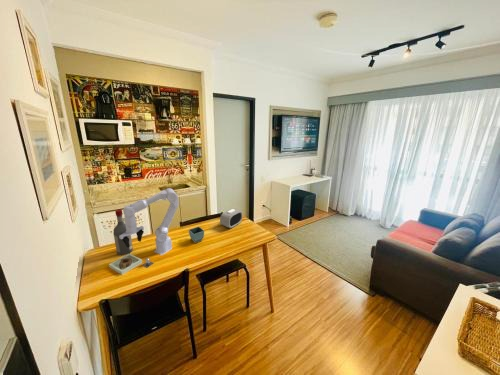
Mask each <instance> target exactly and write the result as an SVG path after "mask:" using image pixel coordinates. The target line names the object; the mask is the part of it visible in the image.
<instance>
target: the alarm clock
mask: <svg viewBox="0 0 500 375" xmlns="http://www.w3.org/2000/svg"><path fill="white" fill-rule="evenodd" d="M243 214H244V213H243V211H242V210H239V209H235V208H230V209H229V210H226V211H224V212H223V213H221V215H220V217H219V223H220V225H221V226H224V227H226V228H229V229H232V228H234V227H236V226H238V225H239V224H240V223H241V222H242V220H243Z"/></svg>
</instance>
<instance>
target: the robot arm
mask: <svg viewBox="0 0 500 375" xmlns="http://www.w3.org/2000/svg"><path fill="white" fill-rule="evenodd" d="M160 200H162V201H168V202H169V205H168V208H167V211H166V212H165V215H164V217H163V219H162V221H161V223H160V225H159V226H158V228H156V229H155V231H154V235H155V247H156V249H155V250H153V252H154V253H155V254H158V255H160V256H163V255H165V254H166V253H168V252H169V251H171V250H172V249H173V246H172V245H173V244H172V239H171V237H170V236H169V235H168V233H169V227H170V225H171V223H172V221H173V219H174V216H175V214H176V212H177V209H178V208H179V205H180V201H179V195H178V194H177V193H176V192H175V190H174V189H173V188H171V187H168V188H166V189H162V190H161V191H160V192H158V193H156V194H154V195H152V196H150V197H148V198H146V199H138V200H137V201H135V202H134V203H130V204H128V205H124V207H123V209H122V213H123V215H124V223H125V225H126V232H125V233H123V234H122V235H120V236H119V238H120V239H122V240H123V241H124V243H125V245H126V247H128V248H129V238H128V237H127V236H129V235H131V236H132V235H135V234H136V238H137V242H142V238H143V235H144V233H145V232H144V229H145V228H144V227H145V226H143V225H141V226H137V220H136V216H135V214H136V213H138V212H140V211H142V210H145V209H147V208H148V206H149V205H150V204H153V203H156V202H158V201H160Z"/></svg>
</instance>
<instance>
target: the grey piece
mask: <svg viewBox="0 0 500 375" xmlns="http://www.w3.org/2000/svg"><path fill="white" fill-rule="evenodd" d="M144 260H145V262H144V263H142V264H141V266H142V267H144V268H146V269H148V268H149V267H151V266H153V265H154V264H155V263H154V262H152V261H151V260H150V258H149V257H146V258H145V259H144Z"/></svg>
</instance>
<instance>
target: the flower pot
mask: <svg viewBox="0 0 500 375" xmlns="http://www.w3.org/2000/svg"><path fill="white" fill-rule="evenodd" d="M188 234H189V237H190V239H191V240H192V241H193V242H194V244H196V243H199V242H202V241H203V239H204V237H205V229H203V228H201V227H200V226H195V227H193V228H191V229H188Z"/></svg>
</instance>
